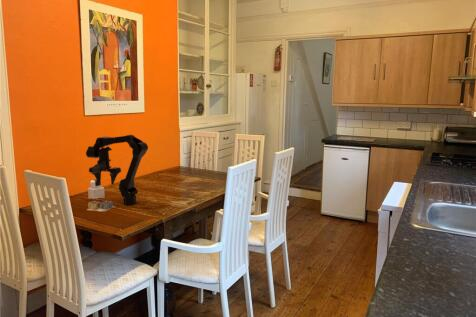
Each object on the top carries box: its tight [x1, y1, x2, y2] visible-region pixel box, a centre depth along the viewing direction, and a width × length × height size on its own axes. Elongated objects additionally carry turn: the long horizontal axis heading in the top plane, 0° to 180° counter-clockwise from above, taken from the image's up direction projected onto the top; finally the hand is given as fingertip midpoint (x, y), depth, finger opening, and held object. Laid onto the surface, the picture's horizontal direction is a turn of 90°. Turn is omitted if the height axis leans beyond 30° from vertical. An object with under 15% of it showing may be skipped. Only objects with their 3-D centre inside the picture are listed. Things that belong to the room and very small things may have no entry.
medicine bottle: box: [87, 179, 106, 200], centre depth 229 cm, size 7×7×12 cm
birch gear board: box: [86, 200, 116, 212], centre depth 205 cm, size 12×10×5 cm
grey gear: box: [100, 200, 114, 210], centre depth 206 cm, size 6×6×3 cm
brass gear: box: [87, 200, 101, 211], centre depth 206 cm, size 6×6×3 cm
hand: (105, 184), depth 216 cm, fingers open, 9 cm apart
